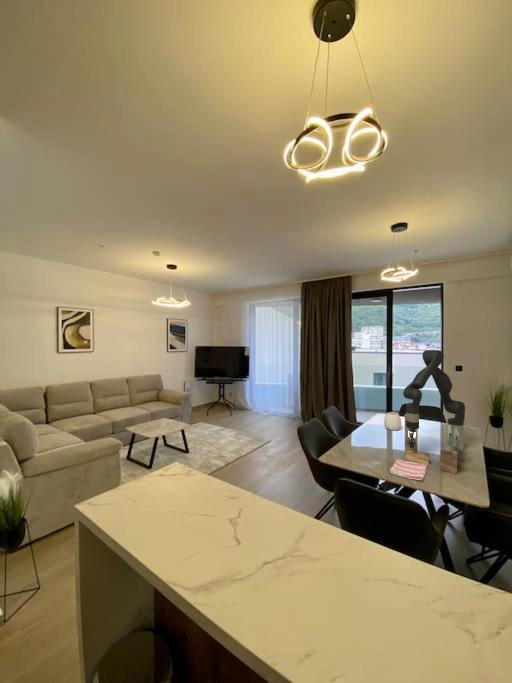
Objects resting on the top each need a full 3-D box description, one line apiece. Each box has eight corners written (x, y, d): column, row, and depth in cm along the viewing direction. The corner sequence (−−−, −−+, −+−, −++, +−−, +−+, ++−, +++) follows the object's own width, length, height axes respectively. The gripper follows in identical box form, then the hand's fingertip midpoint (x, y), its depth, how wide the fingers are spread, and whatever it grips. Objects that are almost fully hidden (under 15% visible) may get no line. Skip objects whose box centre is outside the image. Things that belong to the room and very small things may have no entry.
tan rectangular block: (407, 458, 190) (407, 449, 190) (429, 462, 184) (429, 453, 184) (406, 460, 187) (406, 451, 187) (428, 464, 180) (428, 455, 180)
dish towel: (388, 475, 167) (388, 468, 167) (397, 461, 186) (397, 455, 186) (423, 483, 157) (423, 477, 157) (428, 468, 176) (428, 462, 176)
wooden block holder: (440, 464, 180) (440, 441, 180) (457, 467, 176) (457, 443, 176) (440, 470, 171) (440, 446, 171) (457, 474, 167) (457, 449, 167)
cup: (403, 429, 252) (403, 413, 252) (398, 432, 243) (398, 416, 243) (387, 426, 261) (387, 410, 261) (381, 429, 252) (381, 413, 252)
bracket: (460, 469, 173) (459, 434, 173) (445, 466, 177) (445, 432, 177) (457, 453, 196) (456, 423, 197) (444, 451, 200) (444, 422, 200)
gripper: (407, 416, 195) (407, 441, 195) (404, 421, 183) (404, 448, 183) (420, 418, 191) (420, 443, 191) (418, 423, 179) (418, 450, 179)
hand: (412, 445), depth 187 cm, fingers open, 8 cm apart
